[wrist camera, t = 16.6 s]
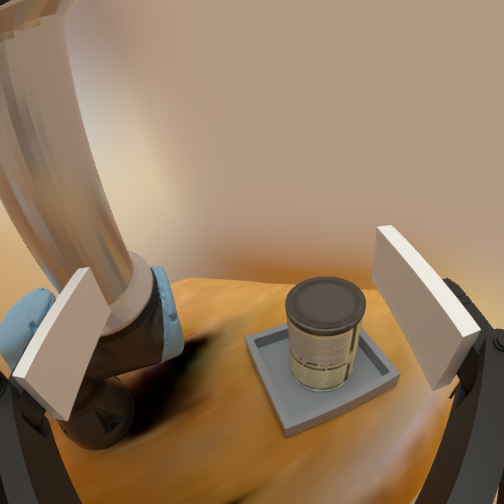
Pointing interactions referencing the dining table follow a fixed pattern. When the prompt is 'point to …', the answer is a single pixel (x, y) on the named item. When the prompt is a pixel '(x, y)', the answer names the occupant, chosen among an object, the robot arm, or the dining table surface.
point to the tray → (310, 402)
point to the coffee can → (324, 331)
